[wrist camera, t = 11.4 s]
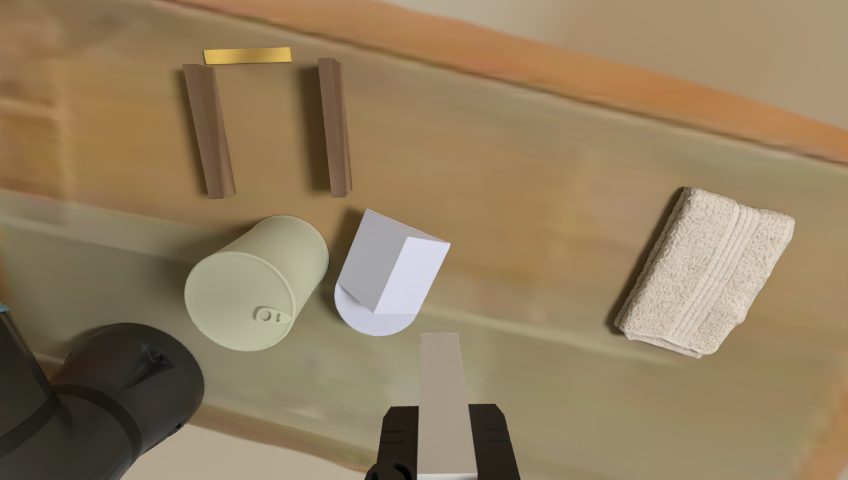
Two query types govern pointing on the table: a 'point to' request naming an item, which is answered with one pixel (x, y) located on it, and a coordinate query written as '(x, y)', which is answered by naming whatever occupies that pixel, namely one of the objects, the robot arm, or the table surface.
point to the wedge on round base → (387, 275)
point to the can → (257, 283)
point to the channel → (212, 125)
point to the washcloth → (703, 272)
